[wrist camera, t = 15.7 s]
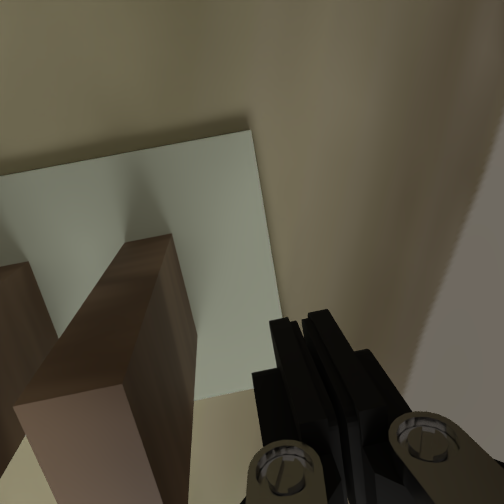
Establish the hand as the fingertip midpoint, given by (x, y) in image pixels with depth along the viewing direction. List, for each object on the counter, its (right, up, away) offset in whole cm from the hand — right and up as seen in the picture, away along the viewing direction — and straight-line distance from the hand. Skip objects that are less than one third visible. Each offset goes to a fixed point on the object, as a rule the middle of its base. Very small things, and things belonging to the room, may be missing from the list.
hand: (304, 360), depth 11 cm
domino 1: (-5, +1, +6) cm, 8 cm away
